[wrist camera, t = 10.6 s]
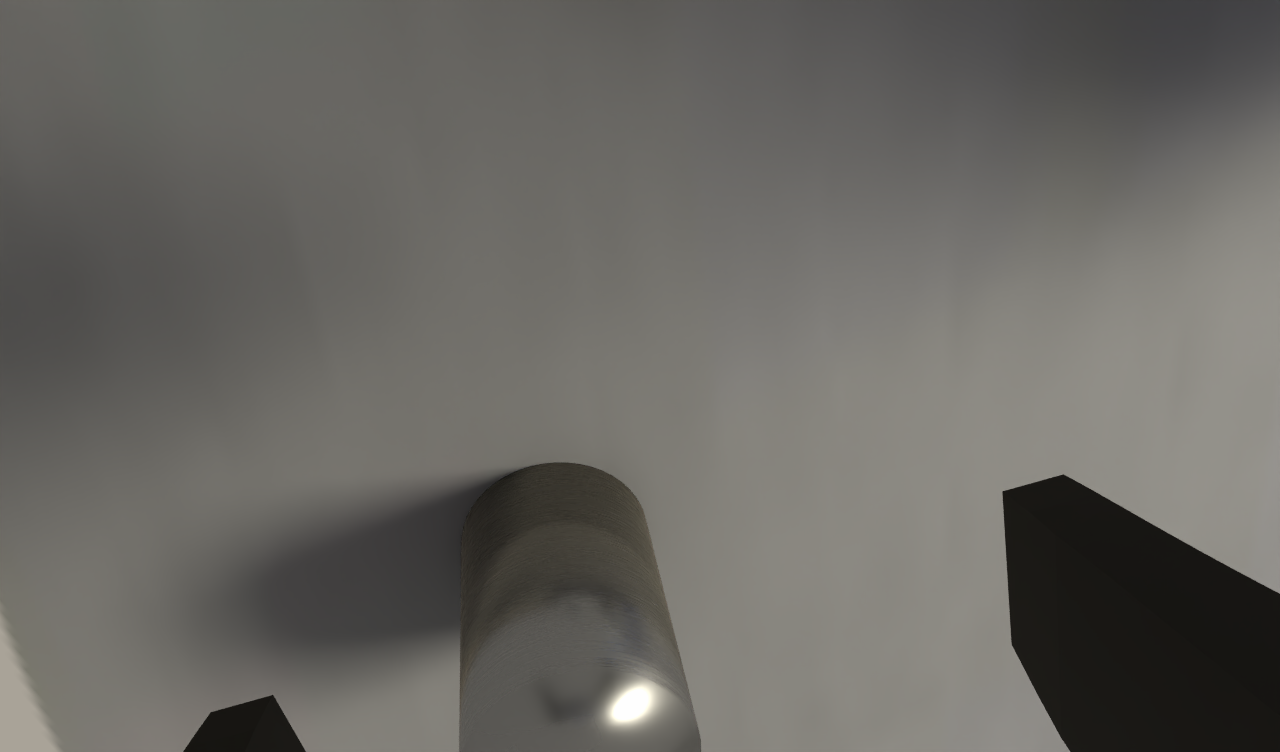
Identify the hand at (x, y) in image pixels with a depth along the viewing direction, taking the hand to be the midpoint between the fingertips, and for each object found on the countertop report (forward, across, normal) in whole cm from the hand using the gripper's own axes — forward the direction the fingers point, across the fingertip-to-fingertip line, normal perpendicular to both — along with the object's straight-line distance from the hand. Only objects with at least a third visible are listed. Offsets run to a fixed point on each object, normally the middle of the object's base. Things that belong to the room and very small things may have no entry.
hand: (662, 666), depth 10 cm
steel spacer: (+10, +2, +6) cm, 12 cm away
